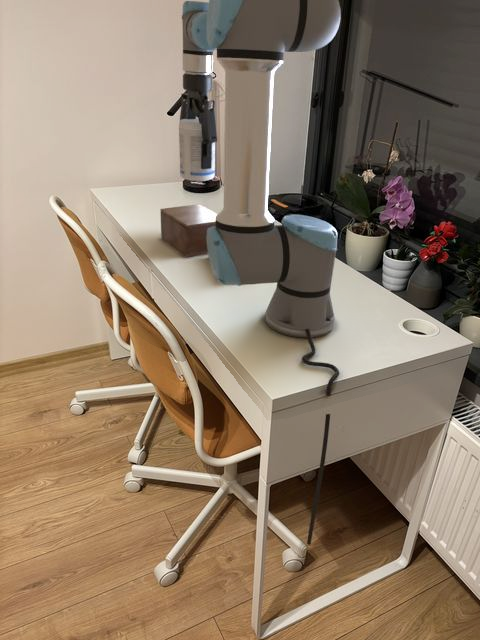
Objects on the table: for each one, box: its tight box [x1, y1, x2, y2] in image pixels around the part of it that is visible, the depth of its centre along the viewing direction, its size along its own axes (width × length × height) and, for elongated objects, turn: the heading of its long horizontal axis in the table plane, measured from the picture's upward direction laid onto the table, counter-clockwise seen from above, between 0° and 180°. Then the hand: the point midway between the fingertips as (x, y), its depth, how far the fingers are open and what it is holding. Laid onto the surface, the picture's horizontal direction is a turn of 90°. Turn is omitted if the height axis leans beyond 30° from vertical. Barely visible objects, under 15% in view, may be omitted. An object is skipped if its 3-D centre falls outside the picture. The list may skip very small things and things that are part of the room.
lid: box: [160, 203, 218, 228], centre depth 155 cm, size 16×13×1 cm
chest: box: [160, 211, 216, 258], centre depth 158 cm, size 16×13×8 cm
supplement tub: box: [178, 118, 216, 182], centre depth 149 cm, size 10×10×15 cm
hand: (197, 164), depth 151 cm, fingers closed on supplement tub, 10 cm apart
